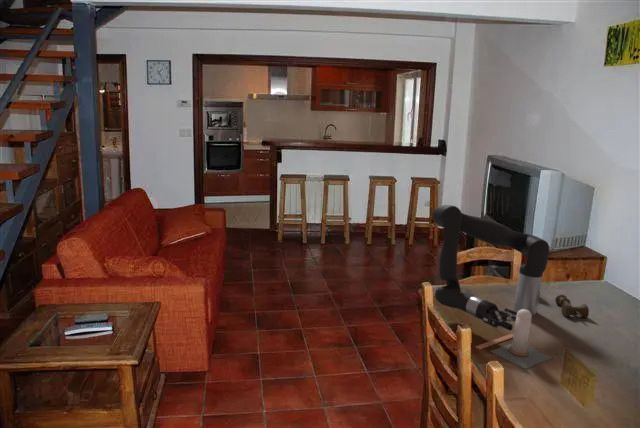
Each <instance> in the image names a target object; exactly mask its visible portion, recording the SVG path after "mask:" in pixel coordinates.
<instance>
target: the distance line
mask: <svg viewBox="0 0 640 428" xmlns="http://www.w3.org/2000/svg"><path fill="white" fill-rule="evenodd" d="M513 335H514V333H510V334H506V335H503V336H500V337H498V338H495V339H493V340H489V341H487V342H484V343H480V344H479V345H475V348H476V349H478V350H483V349H485V348H488V347H492V346H495V345H496V344H499V343H500V344H501V343H503V342H505V341H508V340H510V339H513Z"/></svg>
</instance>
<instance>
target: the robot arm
mask: <svg viewBox="0 0 640 428" xmlns="http://www.w3.org/2000/svg"><path fill="white" fill-rule="evenodd" d="M432 219H433V222H434V223H435V224H436V225H437V226H438V227H440V228H443V244H442V247H441V250H440V254H439V259H438V276H439V279H440V280H442V281H444V283H445V285H443V286H440V287H438V288H437V289H435V292H434V298H435V300H436V301H437V302H438V303H439V304H440V305H443V306H446V307H450V308H454V309H458V310H461V311H462V312H465V313H467V314H469V315H471V316H472V317H474V318H476V319H478V320H480V321H482V322H483V323H484V324H487V325H489V326H491V327H493V328H495V329H496V328H498V327H499V328H504V329H506V330H507V331H513V327H514V325H513V324H512V323H510V322H514V323H515V322H516V315H517V312H518V311H519V310H521V309H526V310H528V311H529V312H530V313H531V315H532V317H533V316H536V315H537V312H538V308H539V301H540V296H541V286H542V279H543V273H544V272H545V270H546V268H547V264H548V261H549V256H550V246H549V243H548V241H546V240H544V239H542V238H540V237H539V236H536V235H532V234H528V233H523V232H520V231H516V230H514V229H512V228H511V227H509V226H507V225H504V224H502V223H499V222H496V221H494V220H492V219H488V218H484V217H479V216H473V215H468V214H466V213H463V212H462V211H461V209H460V208H459V207H458V206H455V205H451V204H448V205H447V204H443V205H439V206H437V207H436V208H435V209H433V212H432ZM460 233H463V234H466V235H467V236H470V237H472V238H474V239H476V240H479V241H481V242H484V243H486V244H489V245H493V246H498V247H506V248H510V249H512V250H515V251H516V252H519V253H521V254H522V255H523V256H526V262H525V263H524V264H521V265H520V266H519V272H518V278H517V282H516V283H517V284H516V290H515V296H514V297H515V298H514V303H513V307H512V308H513V310H512V309H509V308H505V307H504V309H499V307H498V305H497V304H496V303H494V302H491V301H488V300H486V299H483V298H482V297H479V296H475V295H472V294H470V293H468V292H461V287H460V282H459V281H460V280H459V278H458V248H459V240H460V235H461V234H460Z"/></svg>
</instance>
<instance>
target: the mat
mask: <svg viewBox="0 0 640 428" xmlns="http://www.w3.org/2000/svg"><path fill="white" fill-rule="evenodd" d="M510 346H512V342H511V343H509V344H505V345H503V346H501V347H498V348H495V349H493V350H490V353H491V354H494V355H496V356H498V357H500V358H502V359H504V360H505V361H508V362H510V363H512V364H514V365H516V366H517V367H519V368H522V369H524V370H527V369H530V368H533V367H535V366H536V365H540V364H541V363H544V362H546V361H549V360H550V359H553V356H551V355H548V354H545V353H544V352H541V351H539V350H537V349H535V348H532V347H531V346H528V345H527V350H528V356H527V357H517V356H514V355H512V354H511V353H510V352H509V347H510Z"/></svg>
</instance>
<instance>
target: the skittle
mask: <svg viewBox="0 0 640 428" xmlns="http://www.w3.org/2000/svg"><path fill="white" fill-rule="evenodd" d="M532 318H533V316H532V315H531V313H530V312H529V311H528V310H526V309H521V310H519V311H518V312H517V315H516V322H514V329H513V334H514V335H513V338H512V342H511V343H512V346H510V347H509V352H510V353H511V354H512V355H514V356H517V357H527V356H528V350H527V346H528V343H529V336H530V331H531V324H532Z"/></svg>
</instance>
